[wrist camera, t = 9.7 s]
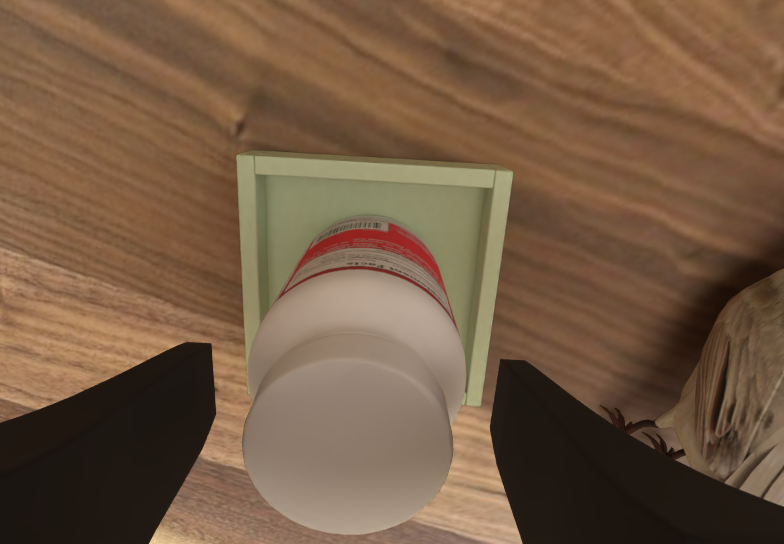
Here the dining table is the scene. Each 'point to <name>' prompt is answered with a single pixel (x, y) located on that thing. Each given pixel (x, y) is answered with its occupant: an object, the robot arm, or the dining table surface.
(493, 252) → the shallow green square tray
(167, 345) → the dining table surface
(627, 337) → the dining table surface
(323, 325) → the pill bottle
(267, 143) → the dining table surface
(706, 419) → the decorative bird
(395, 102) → the dining table surface
